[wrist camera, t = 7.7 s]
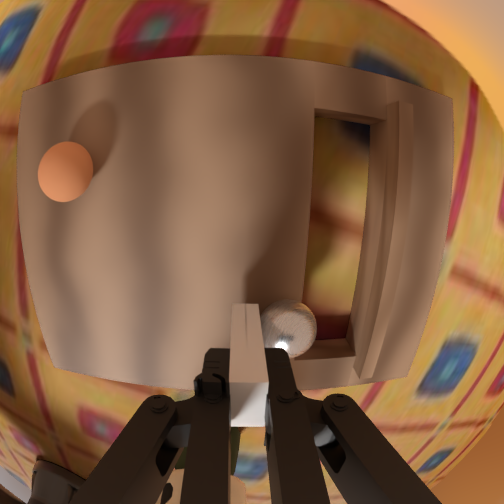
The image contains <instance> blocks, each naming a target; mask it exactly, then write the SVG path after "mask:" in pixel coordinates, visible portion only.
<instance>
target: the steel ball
mask: <svg viewBox="0 0 504 504" xmlns="http://www.w3.org/2000/svg"><path fill="white" fill-rule="evenodd" d="M260 321H261V328H262V336H263V343H264V348H283V349H284V350H285V351H286V352H287V353H288V355H289V358H294V357H297V356H300V355H301V354H303V353H305V352H306V351H307V350H308V349H309V348H310V347H311V346H312V344H313V342H314V340H315V338H316V334H317V323H316V319H315V316H314V315H313V313H312V311H311V310H310V309H309V308H308V307H307V306H306V305H304V304H303V303H301V302H299V301H296V300H290V299H285V300H280V301H277V302H274V303H272V304H271V305H269V306H268V307H267V308H266V309H265V310H264V311H263V313H262V314H261V316H260Z"/></svg>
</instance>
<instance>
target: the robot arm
mask: <svg viewBox="0 0 504 504" xmlns="http://www.w3.org/2000/svg"><path fill="white" fill-rule="evenodd" d="M193 382H194V390H195V396H193V397H192V398H190V399H187V400H183V401H177V402H175V401H174V400H173V399H172V398H170V397H168V396H166V395H153V396H151V397H148V398H147V399H146V400H145V401H144V402H143V403H142V404H141V406H140V407H139V408H138V410H137V411H136V413H135V414H134V415H133V417H132V418H131V419H130V421H129V422H128V423H127V425H126V426H125V428H124V429H123V430H122V432H121V433H120V434H119V436H118V437H117V439H116V440H115V441H114V443H113V444H112V445H111V447H110V448H109V449H108V451H107V452H106V454H105V455H104V456H103V458H102V459H101V460H100V462H99V463H98V464H97V466H96V467H95V469H94V470H93V471H92V473H91V474H90V475H89V477H88V478H87V480H86V481H85V480H84V479H82V478H80V477H79V476H77V475H75V474H73V473H71V472H70V471H68V470H66V469H64V468H62V467H60V466H57V465H55V464H53V463H50V462H47V461H44V460H37V461H36V463H35V465H34V467H33V475H32V493H31V497H30V499H29V502H28V503H27V504H156V502H157V500H158V498H159V496H160V494H161V492H162V491H163V489H164V487H165V485H166V483H167V481H168V479H169V477H170V475H171V473H172V471H173V469H174V467H175V465H176V463H177V461H178V459H179V457H180V455H181V453H182V451H183V449H184V447H187V453H186V460H185V467H184V474H183V482H182V489H181V497H180V504H230V494H231V427H262V426H265V427H266V432H265V441H264V446H266V451H267V461H268V472H269V482H270V492H271V502H272V504H330V500H329V496H328V492H327V488H326V484H325V480H324V476H323V472H322V468H321V464H320V460H321V462H322V464H323V465H324V467H325V469H326V470H327V472H328V474H329V475H330V477H331V479H332V480H333V482H334V483H335V485H336V487H337V488H338V490H339V491H340V493H341V494H342V496H343V498H344V499H345V501H346V502H347V504H442V503H441V502H440V501H439V500H438V499H437V498H436V497H435V495H434V494H433V493H432V492H431V491H430V490H429V488H428V487H427V486H426V485H425V484H424V483H423V481H422V480H421V479H420V478H419V477H418V476H417V474H416V473H415V472H414V471H413V470H412V469H411V468H410V466H409V465H408V464H407V463H406V462H405V461H404V459H403V458H402V457H401V456H400V455H399V453H398V452H397V451H396V450H395V449H394V448H393V446H392V445H391V444H390V443H389V442H388V441H387V439H386V438H385V437H384V436H383V435H382V433H381V432H380V431H379V430H378V429H377V427H376V426H375V425H374V424H373V423H372V421H371V420H370V419H369V418H368V417H367V416H366V414H365V413H364V412H363V411H362V410H361V408H360V407H359V406H358V405H357V403H356V402H355V401H354V400H353V399H352V398H351V397H349V396H347V395H344V394H338V393H337V394H331V395H329V396H327V397H326V398H325V399H324V400H323V401H321V400H314V399H310V398H307V397H305V396H303V395H302V393H301V392H300V391H299V390H298V389H297V387H296V383H295V379H294V375H293V371H292V368H291V363H290V359H289V355H288V353H287V352H286V351H285V350H284V349H283V348H264V343H263V336H262V328H261V321H260V314H259V306H258V304H234V303H232V323H231V345H230V348H210V349H209V350H208V351H207V352H206V353H205V357H204V363H203V369H202V373H200V374H199V375H197V376H196V377H195V379H194V381H193ZM319 459H320V460H319ZM0 504H26V503H25V502H23V501H22V500H21V499H19V498H18V497H16V496H15V495H14V494H12V493H11V492H10V491H9V490H7V489H5V487H3V486H2V485H1V484H0Z"/></svg>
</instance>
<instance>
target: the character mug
mask: <svg viewBox="0 0 504 504" xmlns="http://www.w3.org/2000/svg"><path fill="white" fill-rule="evenodd" d="M240 434H241V433H240V432H239V430H238V428H237V427H231V494H230V504H246V488H245V484H244V483H243V482H242V481H241V480H240V479H238V478H237V477H234V476H233V474H234V472H235V468H236V462H237V457H238V451H239V443H240ZM186 453H187V447H184V449H183V451H182V453H181V455H180V457H179V459H178V461H177V463H176V465H175V467H174V468H175V470H173V471H172V473H171V475H170V477H169V479H168V481H167V483H166V485H165V487H164V489H163V491H162V492H161V494H160V496H159V498H158V500H157V502H156V504H180V497H181V489H182V482H183V474H184V467H185V460H186Z"/></svg>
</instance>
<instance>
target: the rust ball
mask: <svg viewBox="0 0 504 504" xmlns="http://www.w3.org/2000/svg"><path fill="white" fill-rule="evenodd" d="M92 176H93V162H92V159H91V156H90V154H89V152H88V151H87V150H86V149H85V148H84V147H83V146H82V145H80V144H78V143H75V142H69V141H68V142H61V143H58V144H56V145H54V146H53V147H51V148H50V149H49V150H48V151H47V152H46V153H45V154H44V156H43V158H42V159H41V162H40V164H39V168H38V181H39V185H40V187H41V189H42V191H43V192H44V193H45V195H46V196H48V197H49V198H50V199H52V200H55V201H58V202H68V201H72V200H74V199H76V198H78V197H79V196H81V195H82V194H83V193H84V192H85V190H86V189H87V188H88V186H89V184H90V182H91V179H92Z"/></svg>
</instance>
